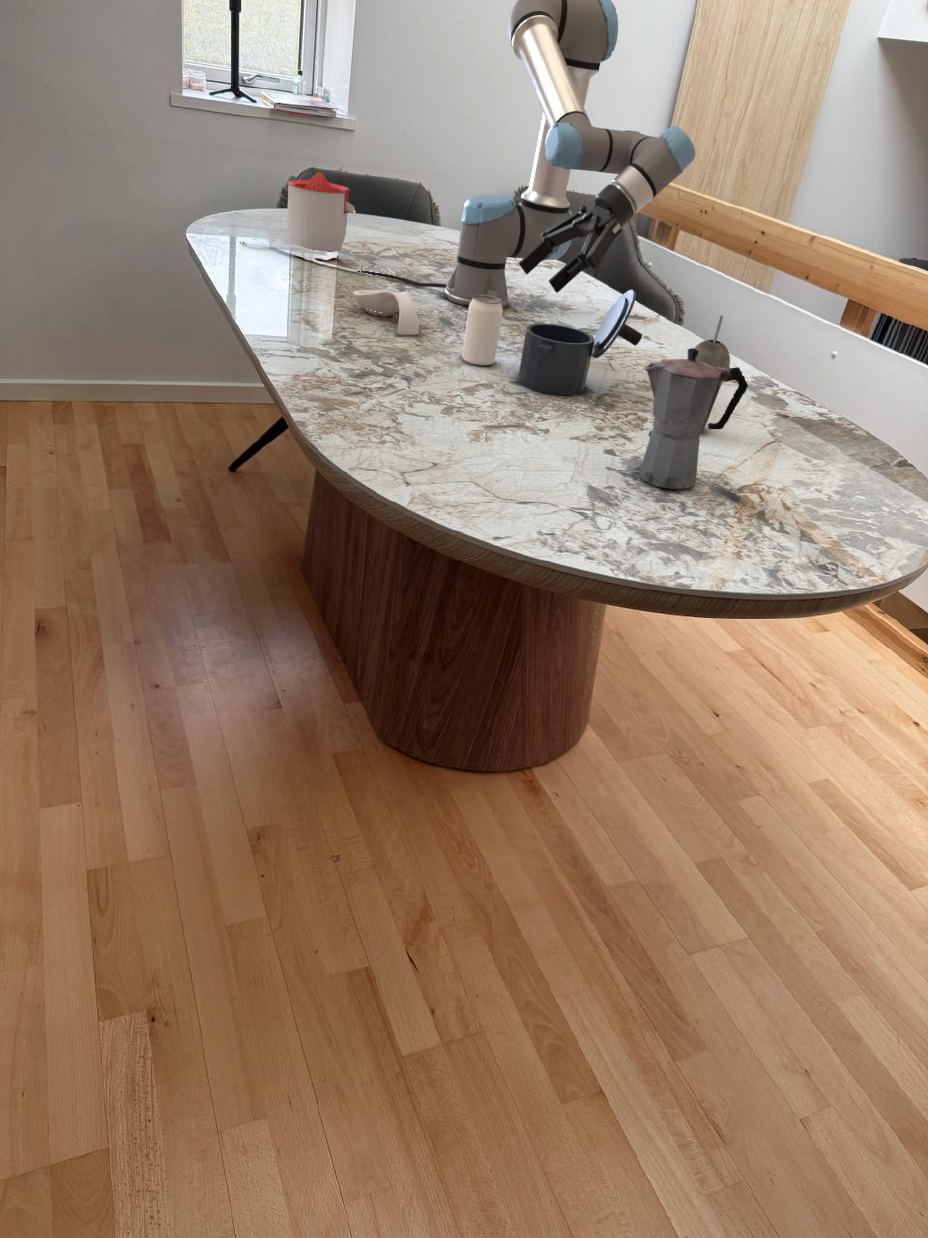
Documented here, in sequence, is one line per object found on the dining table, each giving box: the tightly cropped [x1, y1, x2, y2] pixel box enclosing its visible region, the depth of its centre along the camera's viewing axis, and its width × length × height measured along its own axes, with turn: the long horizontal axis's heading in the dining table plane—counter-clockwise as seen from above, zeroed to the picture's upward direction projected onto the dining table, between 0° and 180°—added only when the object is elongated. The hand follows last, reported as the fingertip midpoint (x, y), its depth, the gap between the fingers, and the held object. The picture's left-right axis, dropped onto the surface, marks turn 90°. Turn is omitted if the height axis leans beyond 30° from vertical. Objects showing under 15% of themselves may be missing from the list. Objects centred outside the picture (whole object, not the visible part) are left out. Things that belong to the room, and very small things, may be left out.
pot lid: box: [591, 289, 643, 359], centre depth 172 cm, size 14×14×7 cm
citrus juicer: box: [286, 171, 357, 252], centre depth 237 cm, size 16×17×20 cm
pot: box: [517, 323, 595, 396], centre depth 173 cm, size 13×18×10 cm
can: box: [461, 295, 504, 367], centre depth 179 cm, size 6×6×12 cm
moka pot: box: [638, 347, 749, 490], centre depth 137 cm, size 10×15×20 cm, turn 95°
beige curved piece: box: [352, 289, 420, 336], centre depth 197 cm, size 24×12×7 cm, turn 25°
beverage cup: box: [694, 314, 731, 433], centre depth 160 cm, size 7×7×20 cm
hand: (537, 277), depth 177 cm, fingers open, 13 cm apart
